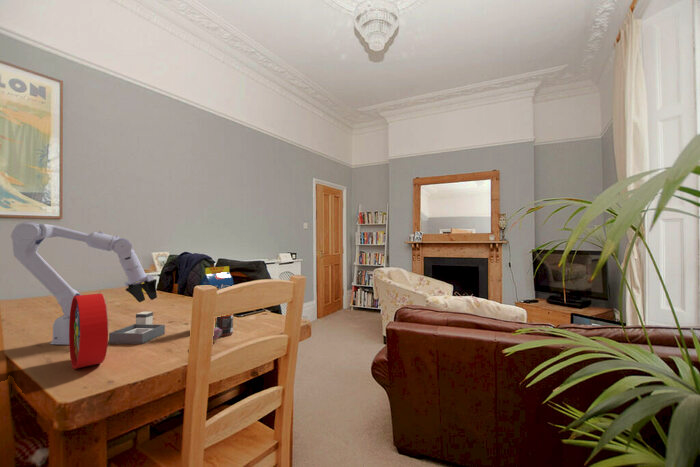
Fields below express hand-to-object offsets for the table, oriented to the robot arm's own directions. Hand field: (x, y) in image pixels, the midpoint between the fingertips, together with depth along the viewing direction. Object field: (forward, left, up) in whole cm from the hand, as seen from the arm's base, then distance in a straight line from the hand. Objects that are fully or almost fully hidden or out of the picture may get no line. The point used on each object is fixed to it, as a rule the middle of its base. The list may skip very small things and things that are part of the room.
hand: (148, 300), depth 121 cm
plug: (-3, +3, -13) cm, 13 cm away
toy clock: (+5, -32, -13) cm, 35 cm away
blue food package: (+23, +10, -13) cm, 28 cm away
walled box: (+2, -7, -13) cm, 15 cm away
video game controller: (+31, -12, -13) cm, 35 cm away
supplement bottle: (+31, 0, -13) cm, 33 cm away
